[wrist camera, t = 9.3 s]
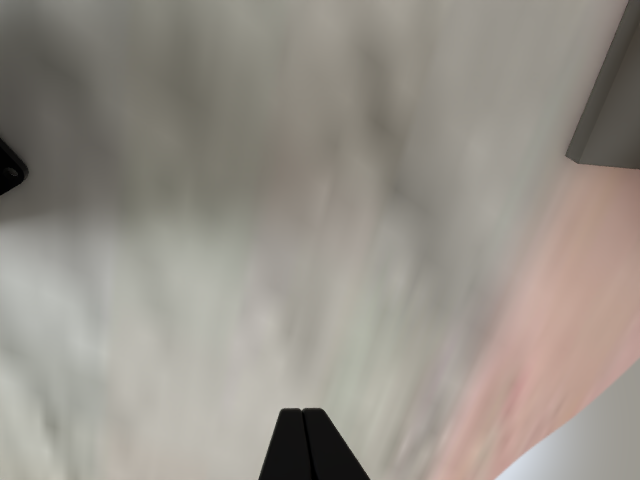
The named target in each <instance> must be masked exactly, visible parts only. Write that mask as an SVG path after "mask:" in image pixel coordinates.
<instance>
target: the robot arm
mask: <svg viewBox="0 0 640 480" xmlns="http://www.w3.org/2000/svg"><path fill="white" fill-rule="evenodd" d="M8 167H9V168H13V169H14V170H16V172H17V174H18V176H15V175H12V174H11V173H9V171H8ZM28 174H29V172H28V168H27V166H26V165H25V164H24V163H23V161H22V160H21V159H20V158H19V157H18V156H17V155H16V154H15V153H14V152H13V151H12V150H11V149H10V148H9V147H8V145H7V144H6V143H5V142H4V141H3V140H2V139H1V138H0V195H2V194H4V193H6V192H7V191H9V190H11V189H12V188H14V187H16V186H18V185H19V184H21V183H22V182H23V181H24V180H25V179H26V178H27V177H28ZM258 480H370V478H369V477H368V475H367V474H366V472H365V471H364V469H363V468H362V466H361V465H360V463H359V462H358V460H357V459H356V457H355V456H354V454H353V453H352V451H351V450H350V448H349V447H348V445H347V444H346V442H345V441H344V439H343V438H342V436H341V435H340V433H339V432H338V430H337V429H336V427H335V426H334V424H333V423H332V421H331V420H330V418H329V417H328V415H327V414H326V412H325V411H324V410H323V409H321V408H304V409H303V410H302V411H301V409H299V408H284V409H281V411H280V413H279V416H278V419H277V422H276V425H275V428H274V432H273V435H272V438H271V441H270V444H269V447H268V451H267V454H266V457H265V460H264V463H263V466H262V470H261V473H260V476H259V479H258Z"/></svg>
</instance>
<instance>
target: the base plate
mask: <svg viewBox="0 0 640 480" xmlns="http://www.w3.org/2000/svg"><path fill="white" fill-rule="evenodd" d="M565 156H566V157H568V158H570V159H571V160H573V161H575V162H576V163H578V164H588V165H598V166H609V167H619V168H630V169H640V0H629V3H628V5H627V8H626V10H625V12H624V15H623V17H622V20H621V22H620V25H619V27H618V29H617V32H616V34H615V37H614V39H613V41H612V44H611V46H610V49H609V51H608V54H607V56H606V58H605V61H604V63H603V66H602V68H601V71H600V73H599V75H598V78H597V80H596V83H595V85H594V88H593V90H592V92H591V95H590V97H589V100H588V102H587V104H586V107H585V109H584V112H583V114H582V117H581V119H580V121H579V124H578V126H577V129H576V131H575V134H574V136H573V138H572V141H571V143H570V146H569V148H568V150H567V153H566V155H565Z"/></svg>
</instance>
